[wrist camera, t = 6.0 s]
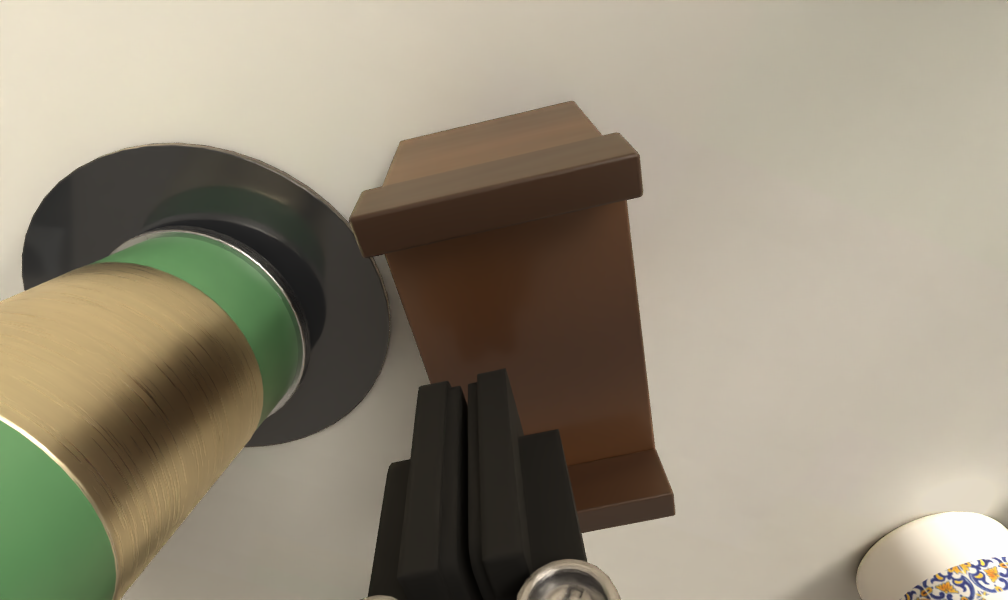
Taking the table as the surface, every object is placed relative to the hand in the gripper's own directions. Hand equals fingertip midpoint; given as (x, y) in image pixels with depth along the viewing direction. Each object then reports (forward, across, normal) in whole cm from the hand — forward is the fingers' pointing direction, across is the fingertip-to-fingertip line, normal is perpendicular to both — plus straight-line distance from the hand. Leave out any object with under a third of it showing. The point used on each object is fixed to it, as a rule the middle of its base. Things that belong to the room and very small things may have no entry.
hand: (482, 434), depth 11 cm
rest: (+8, -1, 0) cm, 8 cm away
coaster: (+8, +8, 0) cm, 12 cm away
